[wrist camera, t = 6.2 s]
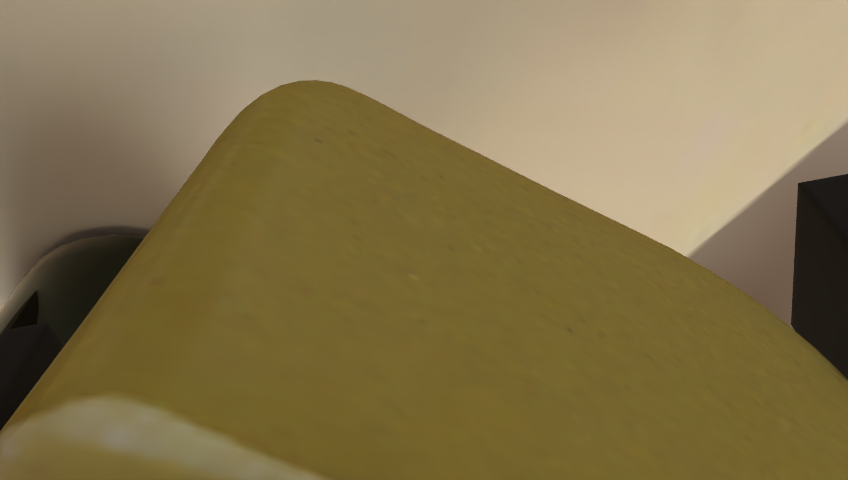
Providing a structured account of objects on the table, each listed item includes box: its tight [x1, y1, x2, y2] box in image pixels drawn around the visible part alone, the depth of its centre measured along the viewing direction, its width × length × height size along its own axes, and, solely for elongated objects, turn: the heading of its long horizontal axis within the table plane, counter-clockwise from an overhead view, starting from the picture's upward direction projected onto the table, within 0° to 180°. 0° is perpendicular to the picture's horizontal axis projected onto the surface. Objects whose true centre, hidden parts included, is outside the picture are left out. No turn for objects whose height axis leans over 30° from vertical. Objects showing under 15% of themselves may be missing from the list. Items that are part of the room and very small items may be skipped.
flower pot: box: [0, 80, 848, 480], centre depth 10 cm, size 9×9×9 cm
